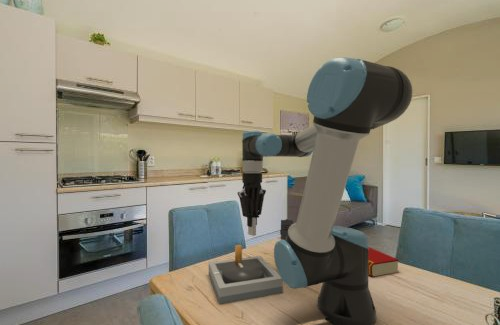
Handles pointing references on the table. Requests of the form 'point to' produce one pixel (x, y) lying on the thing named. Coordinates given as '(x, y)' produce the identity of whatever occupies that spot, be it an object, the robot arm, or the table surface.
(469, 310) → the table surface
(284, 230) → the tool
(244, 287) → the square crank box
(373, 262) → the book
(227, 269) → the crank dial
